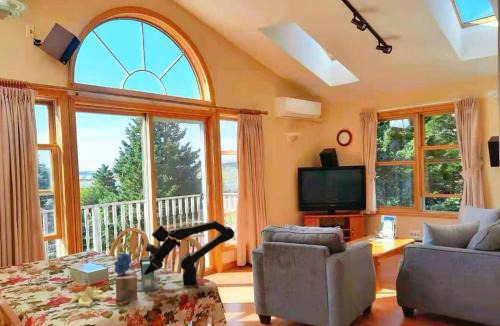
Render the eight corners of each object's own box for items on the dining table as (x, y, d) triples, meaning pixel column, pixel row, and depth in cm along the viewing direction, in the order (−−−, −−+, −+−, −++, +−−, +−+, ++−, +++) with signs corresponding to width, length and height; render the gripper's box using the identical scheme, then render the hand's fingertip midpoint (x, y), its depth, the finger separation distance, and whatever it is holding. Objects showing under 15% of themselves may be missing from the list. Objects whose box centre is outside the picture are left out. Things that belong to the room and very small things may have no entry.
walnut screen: (137, 297, 182) (136, 276, 182) (136, 299, 180) (135, 277, 180) (117, 298, 182) (117, 277, 182) (116, 300, 179) (115, 278, 179)
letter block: (153, 284, 200) (152, 260, 199) (153, 287, 195) (152, 263, 194) (142, 285, 198) (142, 261, 198) (142, 288, 193) (142, 264, 193)
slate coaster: (157, 283, 203) (157, 282, 203) (158, 289, 193) (158, 288, 193) (137, 285, 200) (137, 284, 200) (137, 291, 190) (137, 290, 190)
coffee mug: (151, 278, 211) (151, 260, 211) (136, 278, 213) (136, 260, 213) (160, 272, 222) (160, 255, 222) (146, 272, 224) (146, 254, 224)
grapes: (126, 270, 229) (125, 250, 229) (134, 271, 225) (133, 251, 225) (109, 275, 219) (109, 254, 219) (117, 277, 215) (117, 255, 215)
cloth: (97, 290, 196) (96, 278, 196) (118, 297, 185) (118, 284, 185) (52, 304, 178) (51, 290, 178) (73, 313, 167) (72, 298, 167)
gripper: (154, 234, 206) (132, 257, 204) (154, 241, 188) (131, 266, 186) (169, 248, 208) (149, 270, 206) (172, 256, 190) (149, 281, 188)
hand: (144, 271), depth 196 cm, fingers open, 9 cm apart
